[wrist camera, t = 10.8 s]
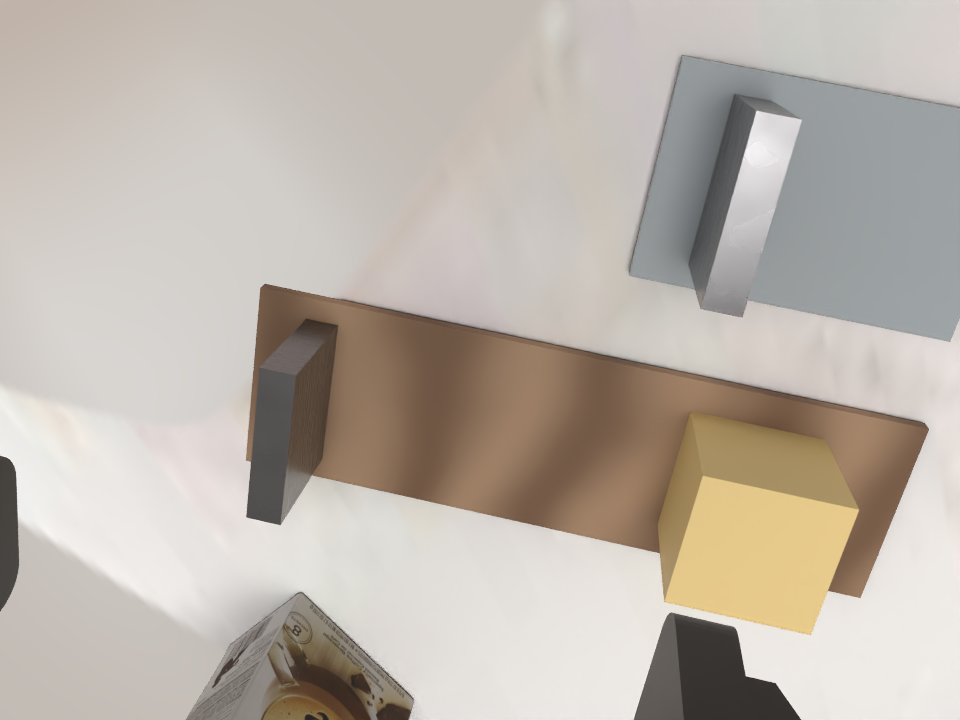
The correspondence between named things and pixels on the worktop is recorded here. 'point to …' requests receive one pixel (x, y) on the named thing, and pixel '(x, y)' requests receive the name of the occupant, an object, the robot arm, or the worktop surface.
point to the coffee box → (299, 674)
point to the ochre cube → (753, 523)
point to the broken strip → (806, 200)
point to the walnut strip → (520, 425)
